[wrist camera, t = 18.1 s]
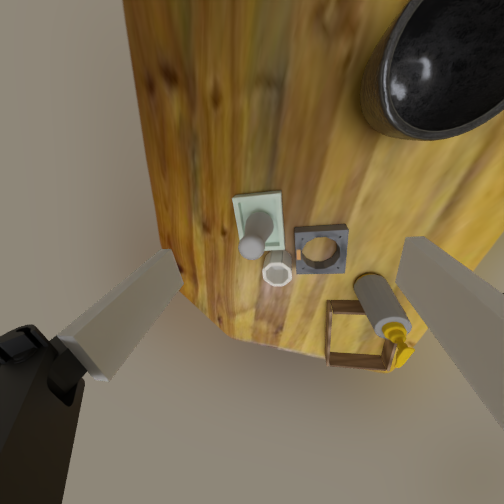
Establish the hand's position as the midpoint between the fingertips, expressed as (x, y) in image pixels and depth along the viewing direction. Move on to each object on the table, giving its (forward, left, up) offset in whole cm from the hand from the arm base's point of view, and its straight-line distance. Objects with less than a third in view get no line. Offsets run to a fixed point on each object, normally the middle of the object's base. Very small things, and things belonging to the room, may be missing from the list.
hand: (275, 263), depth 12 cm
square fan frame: (+15, +6, -31) cm, 35 cm away
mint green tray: (+8, -6, -31) cm, 32 cm away
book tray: (+40, +16, -31) cm, 53 cm away
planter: (-11, +17, -31) cm, 37 cm away
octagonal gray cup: (+18, -3, -31) cm, 36 cm away
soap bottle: (+25, +17, -31) cm, 43 cm away
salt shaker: (+8, -6, -30) cm, 32 cm away
